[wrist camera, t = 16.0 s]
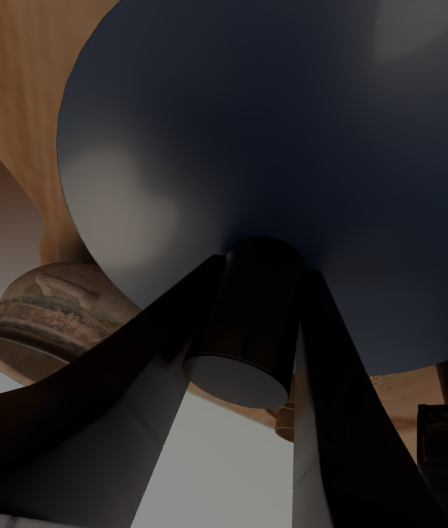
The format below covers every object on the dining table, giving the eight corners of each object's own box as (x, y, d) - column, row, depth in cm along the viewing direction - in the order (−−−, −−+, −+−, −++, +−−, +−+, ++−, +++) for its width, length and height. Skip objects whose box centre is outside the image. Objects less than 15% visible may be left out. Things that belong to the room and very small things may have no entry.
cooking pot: (18, 181, 27) (-121, 274, 19) (208, 240, 26) (145, 369, 18) (79, 318, 46) (22, 395, 38) (191, 357, 44) (157, 446, 36)
